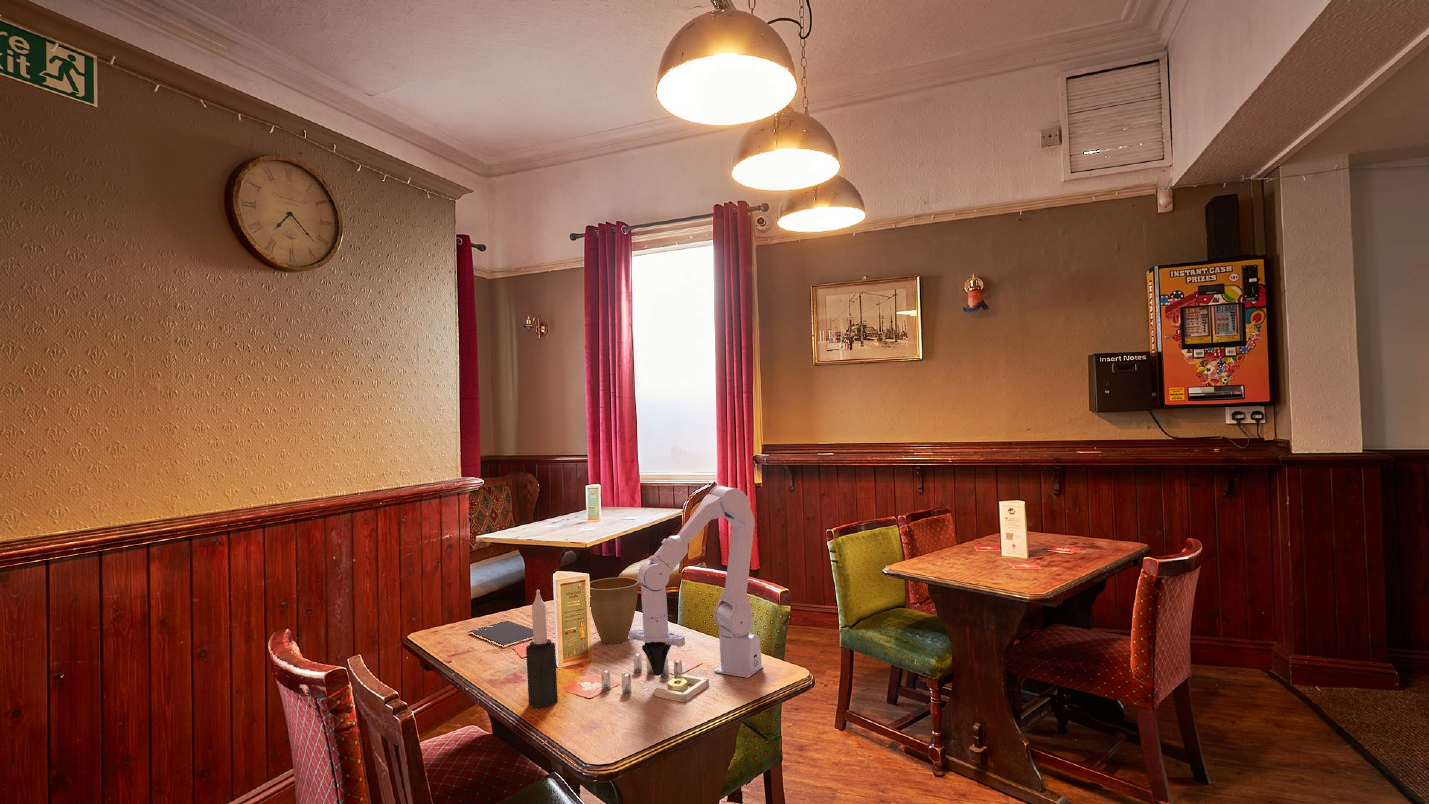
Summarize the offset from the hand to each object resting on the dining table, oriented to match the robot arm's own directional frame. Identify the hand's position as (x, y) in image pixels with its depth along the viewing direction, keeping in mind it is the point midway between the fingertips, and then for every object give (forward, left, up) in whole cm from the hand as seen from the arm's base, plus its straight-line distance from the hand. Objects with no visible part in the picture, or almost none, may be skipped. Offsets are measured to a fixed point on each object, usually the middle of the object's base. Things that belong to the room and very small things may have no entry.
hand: (658, 674), depth 160 cm
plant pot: (+32, -23, -3) cm, 39 cm away
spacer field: (+5, 0, -3) cm, 5 cm away
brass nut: (-5, 0, -3) cm, 6 cm away
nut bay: (-6, 0, -3) cm, 7 cm away
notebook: (+66, -14, -4) cm, 67 cm away
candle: (+19, +18, -3) cm, 26 cm away
